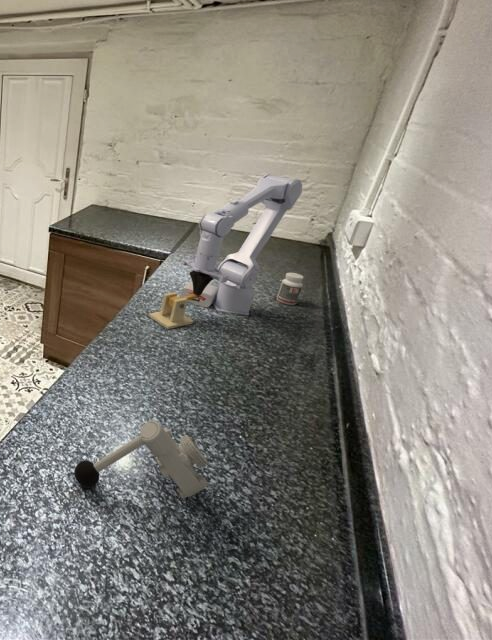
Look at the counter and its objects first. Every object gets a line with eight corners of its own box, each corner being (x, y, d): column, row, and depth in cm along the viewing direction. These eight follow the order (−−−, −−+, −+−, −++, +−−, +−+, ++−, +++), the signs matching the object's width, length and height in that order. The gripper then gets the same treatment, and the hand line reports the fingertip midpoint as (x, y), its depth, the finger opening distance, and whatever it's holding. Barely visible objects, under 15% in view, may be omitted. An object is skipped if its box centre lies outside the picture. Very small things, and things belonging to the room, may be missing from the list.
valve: (108, 497, 77) (63, 450, 74) (196, 444, 74) (154, 392, 70) (127, 550, 68) (77, 499, 64) (230, 492, 64) (183, 434, 60)
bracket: (172, 311, 128) (177, 288, 125) (192, 324, 121) (199, 300, 118) (148, 316, 124) (153, 293, 121) (167, 329, 117) (173, 305, 114)
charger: (221, 294, 140) (208, 308, 130) (193, 286, 146) (179, 299, 136) (224, 281, 138) (211, 295, 128) (196, 274, 144) (181, 287, 134)
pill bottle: (299, 306, 133) (309, 279, 130) (280, 304, 134) (289, 277, 131) (290, 298, 139) (300, 272, 135) (272, 296, 140) (281, 271, 136)
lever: (190, 294, 126) (191, 287, 125) (204, 302, 121) (206, 295, 120) (163, 302, 122) (164, 295, 121) (177, 310, 118) (178, 303, 117)
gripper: (178, 246, 122) (169, 286, 128) (219, 264, 110) (207, 306, 115) (195, 244, 125) (185, 283, 130) (237, 261, 113) (225, 303, 118)
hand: (197, 294), depth 123 cm, fingers closed, pressing on lever
